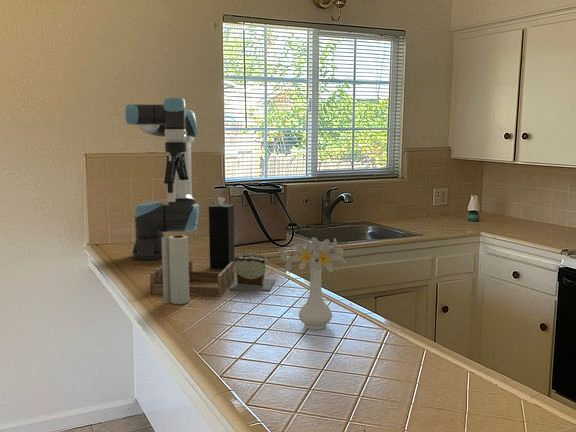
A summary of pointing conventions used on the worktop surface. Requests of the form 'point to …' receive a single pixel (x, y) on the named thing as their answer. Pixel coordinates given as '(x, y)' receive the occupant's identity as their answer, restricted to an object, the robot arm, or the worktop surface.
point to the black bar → (221, 234)
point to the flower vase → (315, 279)
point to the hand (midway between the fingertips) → (177, 199)
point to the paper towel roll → (175, 269)
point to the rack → (222, 277)
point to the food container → (250, 269)
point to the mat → (266, 286)
